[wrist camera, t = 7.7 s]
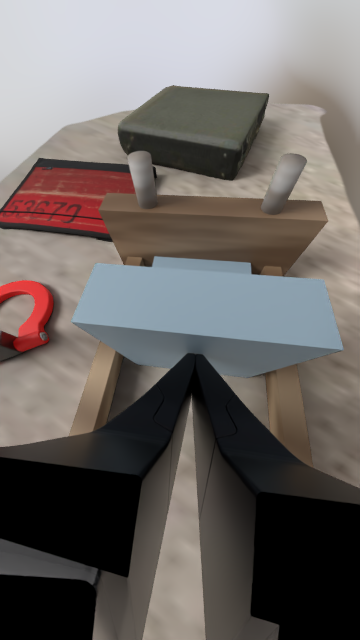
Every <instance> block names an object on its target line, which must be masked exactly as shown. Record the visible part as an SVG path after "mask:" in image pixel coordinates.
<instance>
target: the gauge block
mask: <svg viewBox="0 0 360 640" xmlns="http://www.w3.org/2000/svg"><path fill="white" fill-rule="evenodd" d="M71 322H72V323H73V324H75V325H76V326H78V327H80V328H81V329H83V330H84V331H86V332H87V333H89V334H90V335H92V336H94V337H95V338H97V339H98V340H100V341H101V342H103V343H105V344H106V345H108V346H109V347H111V348H112V349H114V350H115V351H117V352H119V353H120V354H122V355H123V356H125V357H126V358H128V359H129V360H131V361H133V362H134V363H136V364H137V365H145V366H153V367H162V368H170V369H171V368H172V367H174V366H175V365H176V364H177V363H178V362H179V361H180V360H181V359H182V358H183V357H184V356H185V355H186V354H187V353H194V354H203V355H204V356H205V357H206V359H207V360H208V361H209V362H210V364H211V365H212V366H213V367H214V368H215V370H216V371H217V372H218V373H219V374H220V375H228V376H236V377H245V378H249V377H252V376H256V375H259V374H263V373H266V372H270V371H273V370H277V369H280V368H283V367H287V366H290V365H294V364H297V363H301V362H304V361H308V360H311V359H315V358H318V357H321V356H325V355H328V354H332V353H335V352H339V351H342V350H344V349H343V345H342V342H341V338H340V335H339V331H338V328H337V324H336V321H335V317H334V313H333V310H332V306H331V303H330V299H329V296H328V292H327V289H326V285H325V282H324V280H322V279H308V278H294V277H281V276H267V275H253V274H251V263H247V262H232V261H217V260H202V259H187V258H172V257H157V256H155V257H154V261H153V265H152V267H143V266H129V265H115V264H101V263H95V266H94V268H93V271H92V273H91V275H90V278H89V280H88V282H87V285H86V287H85V289H84V292H83V294H82V297H81V299H80V301H79V304H78V306H77V308H76V311H75V313H74V315H73V318H72V320H71Z"/></svg>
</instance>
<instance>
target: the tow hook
mask: <svg viewBox="0 0 360 640" xmlns="http://www.w3.org/2000/svg"><path fill="white" fill-rule="evenodd" d="M20 294H29V295H32V296H33V297H34V299H35V307H34V310H33V312H32V314H31V316H30V317H29V318H28V320H27V321H26V322H25V323H24V324H23V325H21V326H20V328H19V336H18V337H15V336H13V335H10V334H8V333H5V332H3V331H0V361H2V360H5V359H8V358H10V357H13V356H16V355H18V354H21V353H23V352H25V351H26V350H29V349H31V348H34V347H37V346H40V345H42V344H45V343H47V342H48V341H49V337H48V334H47V333H46V332H45V331H44V325H45V324H46V323H47V321H48V319H49V317H50V315H51V313H52V309H53V304H54V303H53V296H52V294H51V293H50V291H49V290H48V289H47V288H46V287H44V286H43V285H41V284H40V283H38V282H35V281H26V280H22V281H17V282H12V283H9V284H6V285H3V286H1V287H0V303H2V302H3V301H4V300H6V299H8V298H10V297H13V296H15V295H20Z"/></svg>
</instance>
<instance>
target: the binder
mask: <svg viewBox="0 0 360 640" xmlns="http://www.w3.org/2000/svg"><path fill="white" fill-rule="evenodd" d="M152 167H153V174H154V178H157V176H156V168H155V167H154V166H152ZM107 193H123V194H136V192H135V188H134V184H133V180H132V176H131V172H130V167H129V165H125V164H111V163H94V162H81V161H68V160H55V159H43V158H39V159H38V160H37V162H36V163H35V164H34V165H33V167H32V169H31V170H30V172H29V173H28V174H27V176H26V177H25V178H24V180H23V181H22V182H21V184H20V185H19V186H18V187H17V189H16V190H15V191H14V193H13V194H12V195H11V196H10V198H9V199H8V200H7V202H6V203H5V204H4V206H3V207H2V208H1V209H0V228H2V229H26V230H29V229H30V230H36V231H50V232H61V233H69V234H78V235H86V236H93V237H96V238H98V240H103V241H108V242H113V240H112V238H111V236H110V234H109V232H108V230H107V228H106V226H105V223H104V221H103V219H102V217H101V215H100V213H99V211H98V210H99V208H100V206H101V204H102V202H103V200H104V198H105V196H106V194H107Z"/></svg>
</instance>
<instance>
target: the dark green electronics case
mask: <svg viewBox="0 0 360 640" xmlns="http://www.w3.org/2000/svg"><path fill="white" fill-rule="evenodd" d="M268 98H269V94H267V93H252V92H239V91H228V90H216V89H203V88H192V87H181V86H174V85H173V86H170V87H166V88H165V89H163V90H162V91H160V92H159V93H158V94H156V95H155V96H154V97H152V98H151V99H150V100H148V101H147V102H146V103H144V104H143V105H142V106H140V107H139V108H138V109H136V110H135V111H134V112H132V113H131V114H130V115H129V116H127V117H126V118H125V119H123V120H122V121H121V122H120V123H119V125H118V136H119V140H120V144H121V146H122V148H123V150H124V152H125V153H126V154H127V155H129V154H131V153H133V152H136V151H146V152H148V153H150V155H151V160H152V164H157V165H162V166H166V167H171V168H177V169H180V170H185V171H188V172H193V173H197V174H202V175H206V176H209V177H215V178H219V179H224V180H233V179H234V178H235V177H236V175H237V173H238V170H239V169H240V167H241V166H242V164H243V162H244V160H245V157H246V156H247V154H248V152H249V150H250V148H251V145H252V143H253V141H254V139H255V137H256V135H257V133H258V130H259V127H260V126H261V123H262V121H263V118H264V114H265V109H266V106H267V103H268ZM242 154H243V155H242ZM242 160H243V161H242Z"/></svg>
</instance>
